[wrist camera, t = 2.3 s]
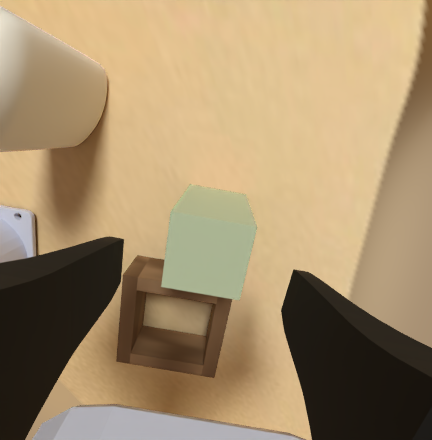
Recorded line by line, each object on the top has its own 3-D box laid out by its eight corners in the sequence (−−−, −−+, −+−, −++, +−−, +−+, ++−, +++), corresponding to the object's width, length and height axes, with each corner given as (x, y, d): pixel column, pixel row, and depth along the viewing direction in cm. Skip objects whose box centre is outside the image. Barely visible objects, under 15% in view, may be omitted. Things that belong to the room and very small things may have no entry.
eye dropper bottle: (24, 95, 17) (-376, 14, 6) (91, 43, 16) (-236, -181, 5) (67, 154, 18) (-197, 185, 7) (132, 109, 17) (-51, 58, 6)
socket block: (130, 333, 23) (116, 361, 20) (137, 255, 20) (122, 274, 18) (215, 347, 23) (214, 377, 20) (232, 272, 21) (233, 294, 18)
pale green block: (182, 235, 20) (161, 286, 13) (190, 184, 19) (170, 211, 12) (234, 245, 20) (239, 300, 13) (245, 194, 19) (257, 226, 12)
